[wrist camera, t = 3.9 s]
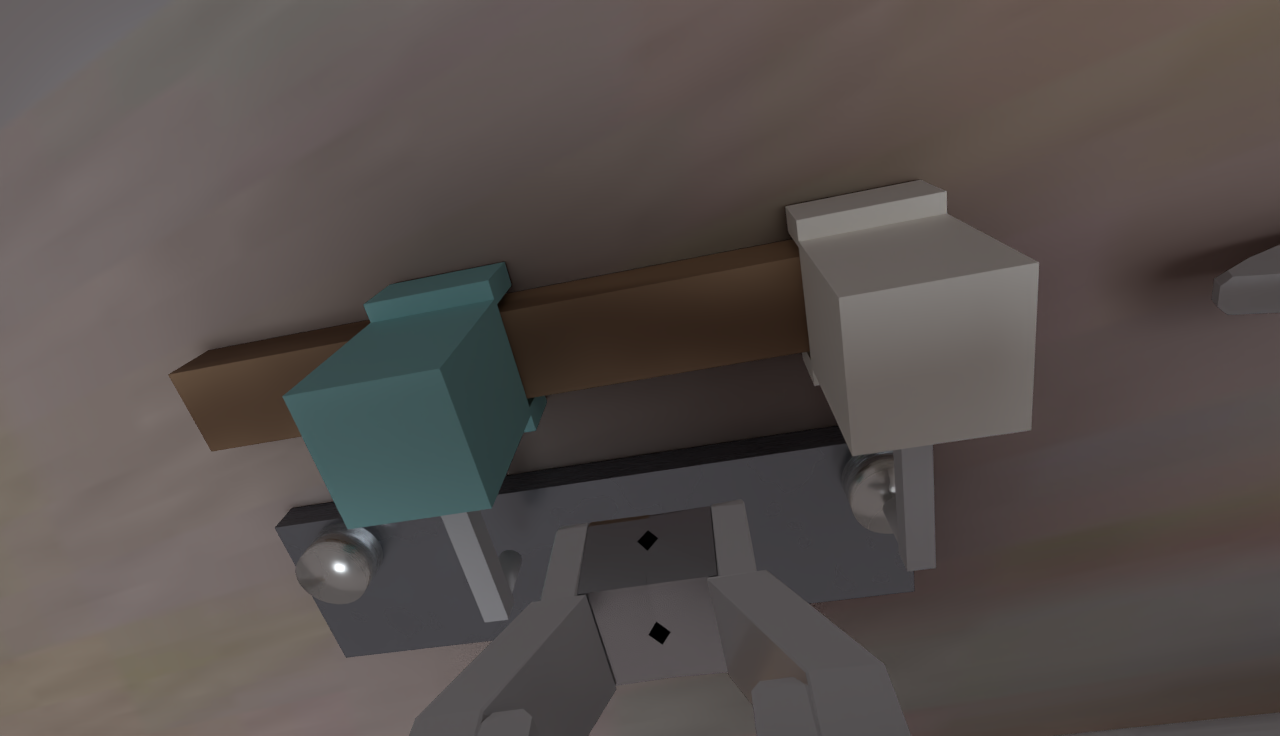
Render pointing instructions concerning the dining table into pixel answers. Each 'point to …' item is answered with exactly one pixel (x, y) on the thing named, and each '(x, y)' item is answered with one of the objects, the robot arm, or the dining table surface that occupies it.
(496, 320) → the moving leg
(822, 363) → the fixed leg
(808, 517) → the bolt plate
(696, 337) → the rail
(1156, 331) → the dining table surface
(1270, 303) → the wrench
